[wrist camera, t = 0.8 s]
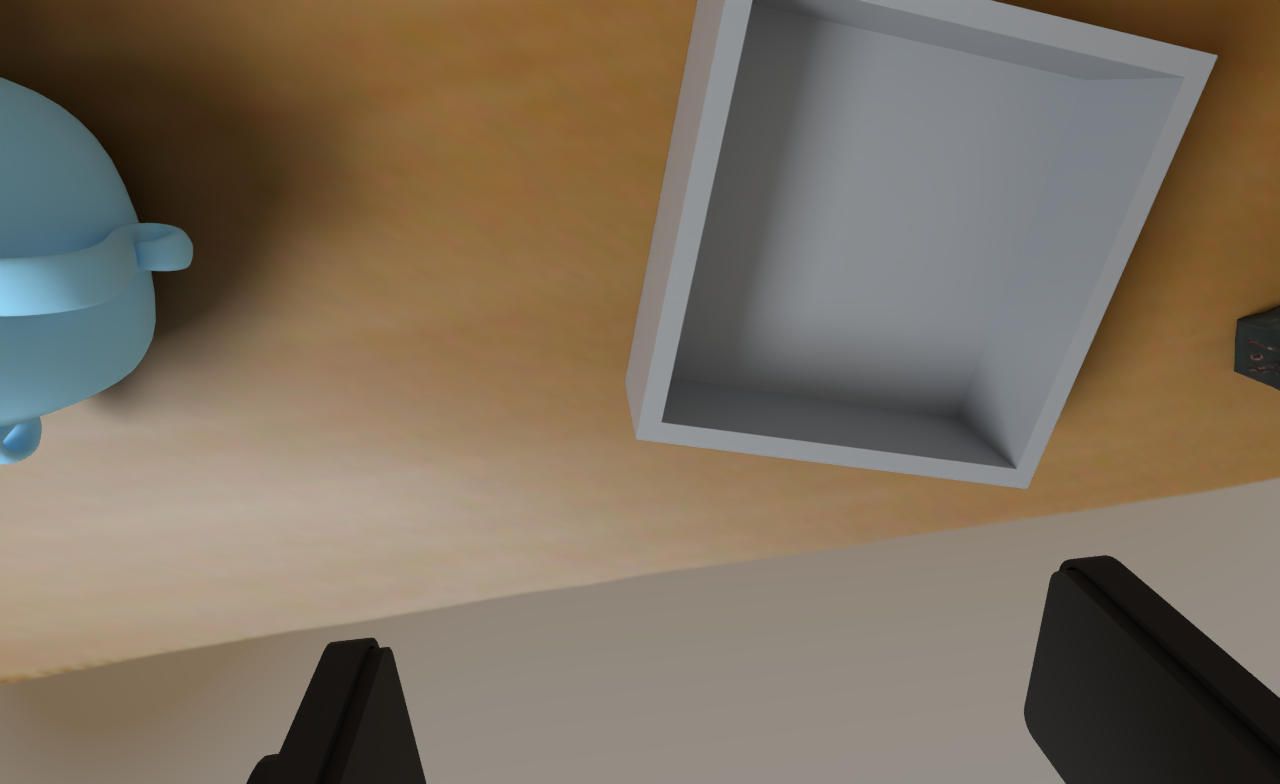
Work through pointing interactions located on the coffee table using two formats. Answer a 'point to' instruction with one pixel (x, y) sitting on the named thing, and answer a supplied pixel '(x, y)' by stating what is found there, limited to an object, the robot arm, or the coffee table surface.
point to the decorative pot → (68, 268)
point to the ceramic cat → (1259, 347)
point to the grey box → (896, 228)
